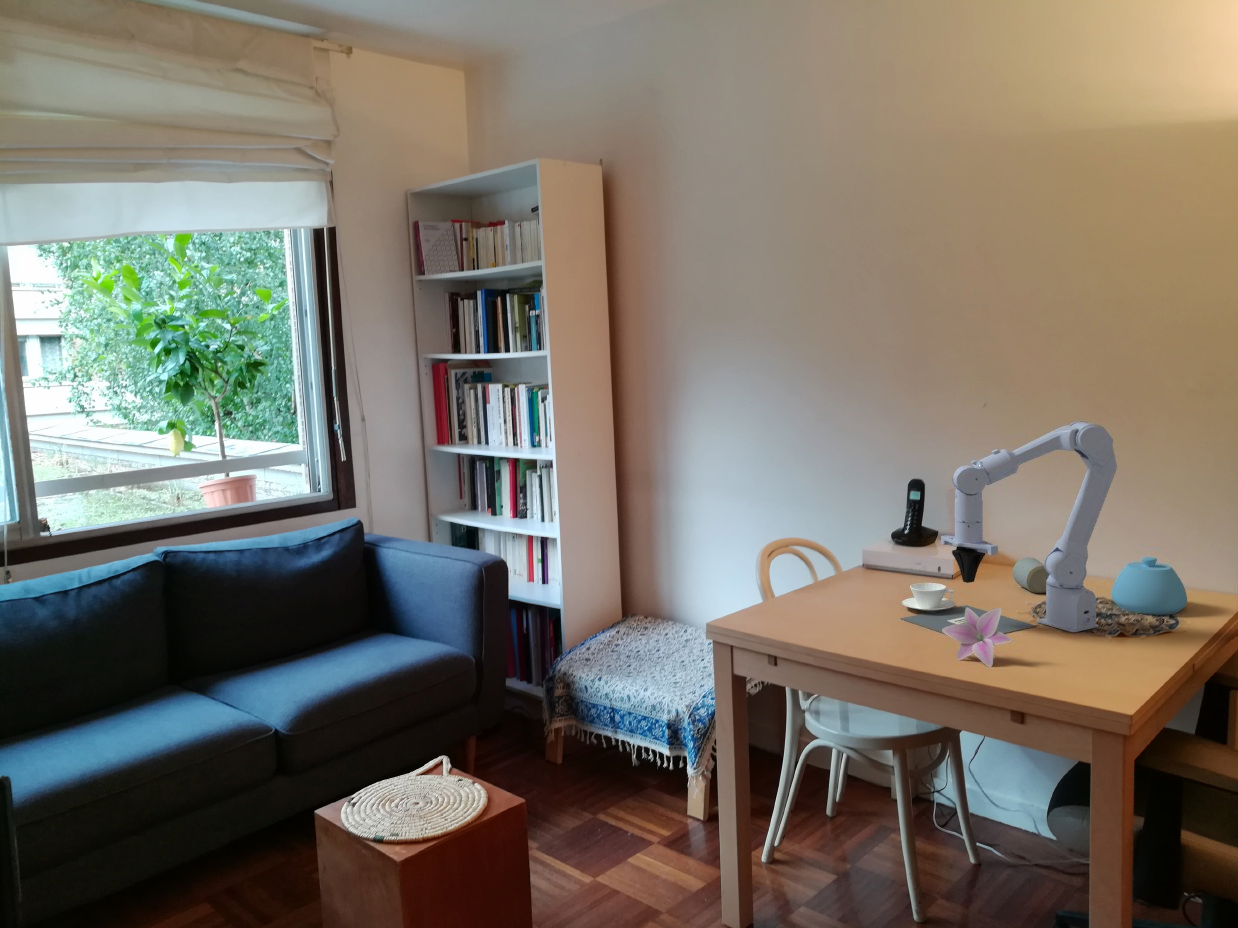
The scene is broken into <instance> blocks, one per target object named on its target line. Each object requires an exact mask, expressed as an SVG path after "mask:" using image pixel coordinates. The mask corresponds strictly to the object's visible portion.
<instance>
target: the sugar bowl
mask: <svg viewBox="0 0 1238 928" xmlns="http://www.w3.org/2000/svg"><path fill="white" fill-rule="evenodd" d="M1157 561H1158V559H1157V558H1156V557H1152V556H1143V557H1142V558H1141V561H1134V562H1129V563H1127V564H1126V565H1125V566H1124V568H1123V569H1121V571H1120V573H1119V574H1118V575H1117V577H1116V578H1115V581H1114V583H1113V585H1112V588H1111V592H1110V593H1111V595H1110V597H1111V599H1112V601H1113V602H1114V603H1115V605H1116V606H1117V607H1118V608H1119V607H1120V608H1119V609H1121V608H1122V610H1123V609H1124V611H1126V610H1128V611H1127V612H1130V611H1132V612H1131V613H1135V612H1137V613H1136V614H1140V613H1144V614H1143V615H1150V614H1151V615H1153V616H1165V615H1166V616H1167V615H1174V614H1177V613H1179V612H1180V611H1182V610H1183V609H1184V608H1185V607H1186V606H1187V604H1188V596H1187V591H1186V588H1185V586H1184V584H1183V581H1182V579H1181V578H1180V577H1179V575H1178V574H1177V572H1176V571H1175V570H1174V568H1173V567H1172V566H1171V565H1168V564H1165V563H1161V562H1157ZM1151 615H1150V616H1151Z"/></svg>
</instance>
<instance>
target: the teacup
mask: <svg viewBox="0 0 1238 928" xmlns="http://www.w3.org/2000/svg"><path fill="white" fill-rule="evenodd" d="M909 588H910V590H911V593H912V595H913V597H910V598H906V599H905V598H904V600H902V602H901V605H903V606H904V607H906V608H910V609H916V610H919V611H923V612H935V611H940V610H945V609H950V608H955V607H956V605H957V603H956V602H955V600H952V599H953V597H954V593H955V590H952V589H948V588H947V586H946V585H944V584H941V583H938V582H937V583H934V582H918V583H914V584H911V585H910V586H909ZM949 593H950V594H951V595H950V598H949V599H948V598H944V597H945V596H946V594H949Z"/></svg>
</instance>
